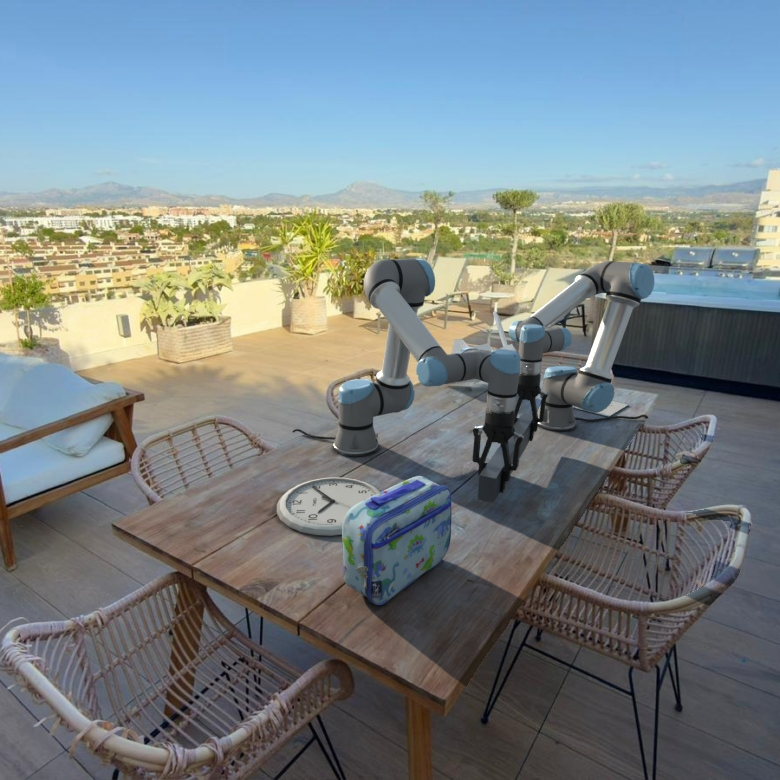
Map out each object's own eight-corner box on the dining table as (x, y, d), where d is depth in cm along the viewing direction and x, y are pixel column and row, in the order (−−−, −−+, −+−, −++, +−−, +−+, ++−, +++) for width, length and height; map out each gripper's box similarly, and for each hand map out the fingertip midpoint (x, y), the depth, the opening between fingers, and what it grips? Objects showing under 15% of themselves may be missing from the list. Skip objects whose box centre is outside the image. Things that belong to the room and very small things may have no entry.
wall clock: (392, 527, 129) (268, 531, 127) (391, 533, 130) (269, 537, 127) (383, 473, 158) (282, 475, 155) (383, 478, 158) (282, 480, 156)
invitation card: (608, 416, 214) (573, 407, 224) (608, 416, 214) (573, 408, 224) (628, 404, 229) (594, 396, 238) (628, 405, 229) (594, 397, 238)
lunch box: (371, 618, 102) (371, 524, 95) (336, 591, 109) (334, 502, 103) (455, 562, 119) (460, 479, 113) (420, 542, 126) (423, 463, 120)
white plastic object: (461, 429, 252) (437, 405, 227) (444, 352, 274) (420, 323, 250) (535, 404, 240) (518, 377, 215) (510, 326, 262) (492, 293, 237)
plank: (521, 431, 185) (522, 412, 183) (534, 433, 183) (535, 414, 181) (477, 499, 139) (479, 475, 137) (494, 503, 137) (496, 478, 135)
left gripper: (463, 407, 137) (457, 486, 144) (532, 419, 130) (522, 502, 137) (471, 399, 143) (465, 475, 151) (537, 410, 136) (527, 489, 144)
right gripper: (499, 372, 171) (495, 438, 178) (555, 378, 164) (548, 446, 171) (504, 366, 178) (500, 430, 185) (558, 372, 171) (551, 438, 178)
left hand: (492, 488), depth 144 cm, fingers closed on plank, 5 cm apart
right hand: (523, 438), depth 178 cm, fingers closed on plank, 5 cm apart
